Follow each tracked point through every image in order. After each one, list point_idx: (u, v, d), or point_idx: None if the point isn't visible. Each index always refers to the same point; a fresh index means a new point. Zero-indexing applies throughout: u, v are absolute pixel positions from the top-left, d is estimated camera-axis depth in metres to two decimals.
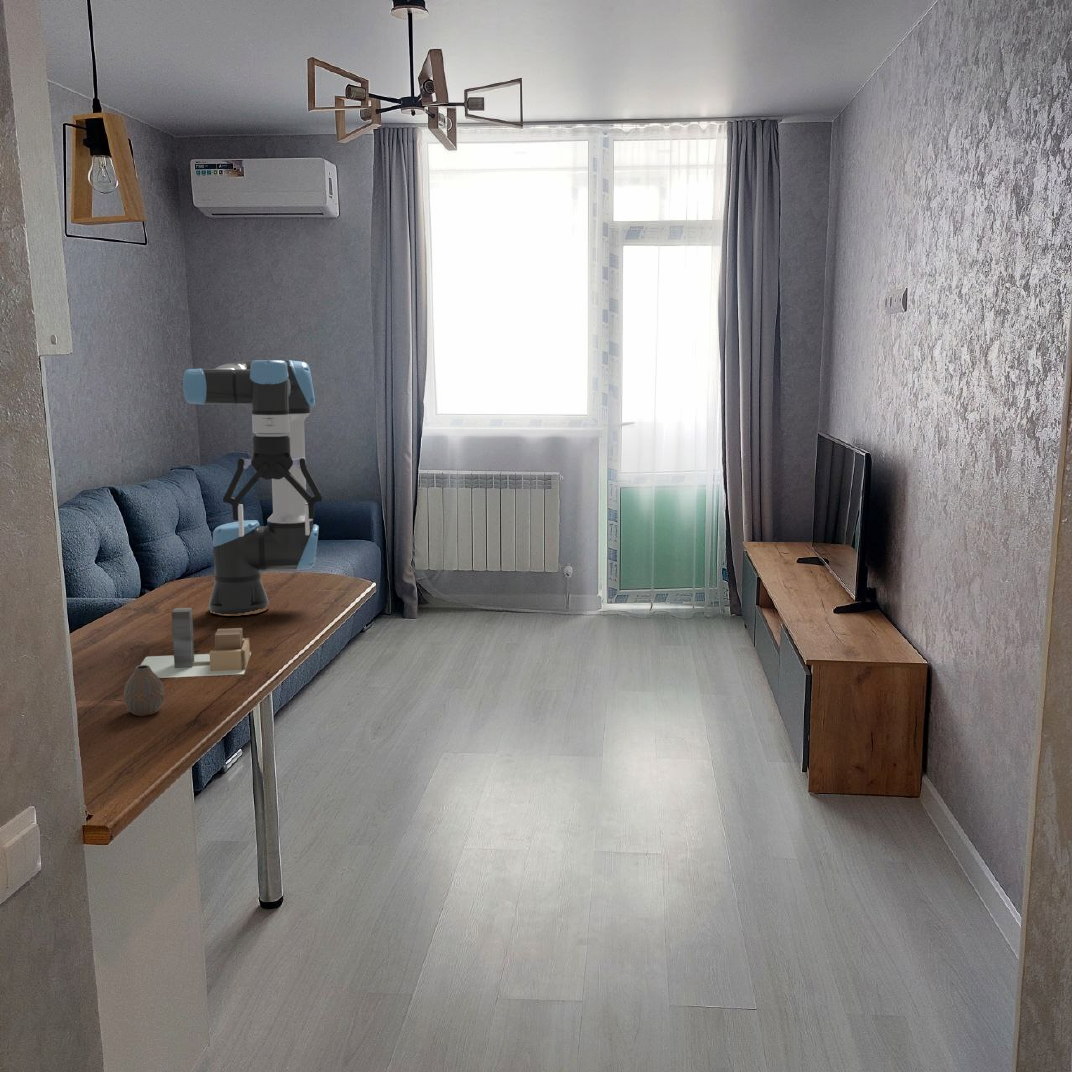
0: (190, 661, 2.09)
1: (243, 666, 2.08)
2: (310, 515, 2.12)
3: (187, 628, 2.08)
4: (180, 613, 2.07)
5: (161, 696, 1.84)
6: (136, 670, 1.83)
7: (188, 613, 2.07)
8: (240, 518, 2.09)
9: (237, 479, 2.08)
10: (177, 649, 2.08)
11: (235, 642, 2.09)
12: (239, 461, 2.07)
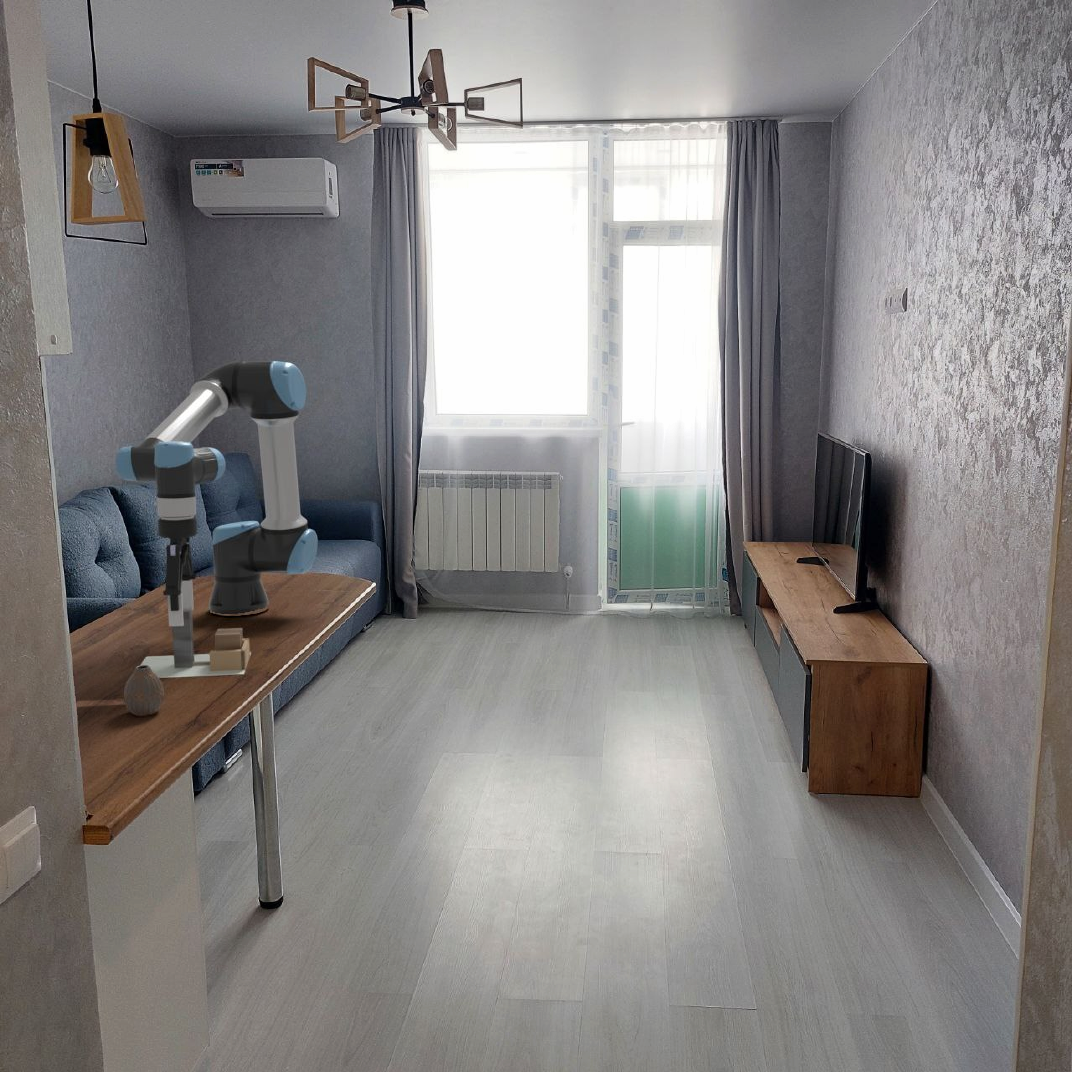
0: (190, 661, 2.09)
1: (243, 666, 2.08)
2: None
3: (187, 628, 2.08)
4: None
5: (161, 696, 1.84)
6: (136, 670, 1.82)
7: (188, 613, 2.07)
8: None
9: None
10: (177, 649, 2.08)
11: (235, 642, 2.09)
12: None
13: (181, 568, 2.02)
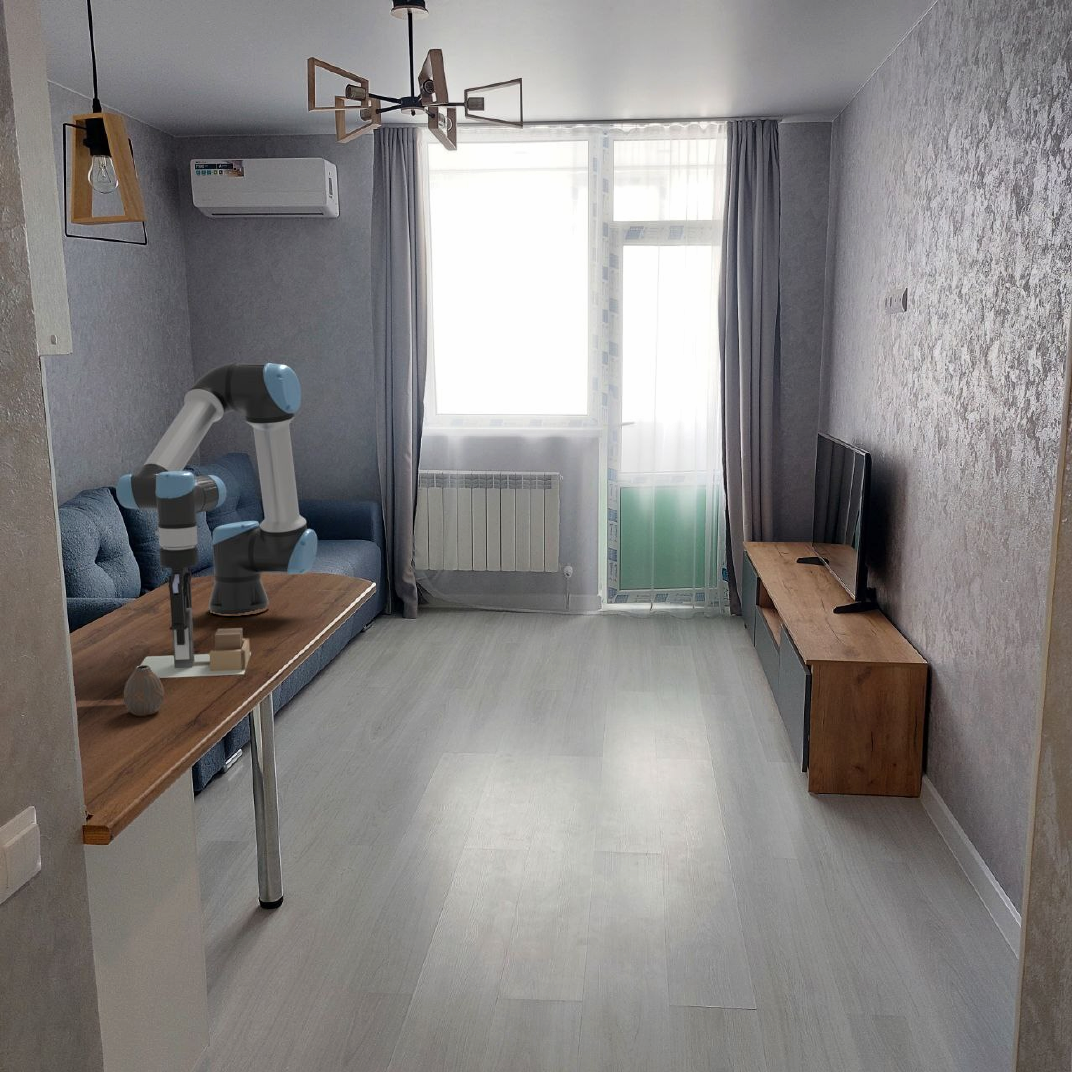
0: (190, 661, 2.09)
1: (243, 666, 2.08)
2: None
3: None
4: None
5: (161, 696, 1.84)
6: (136, 670, 1.82)
7: (188, 613, 2.07)
8: None
9: None
10: None
11: (235, 642, 2.09)
12: None
13: (185, 602, 2.06)
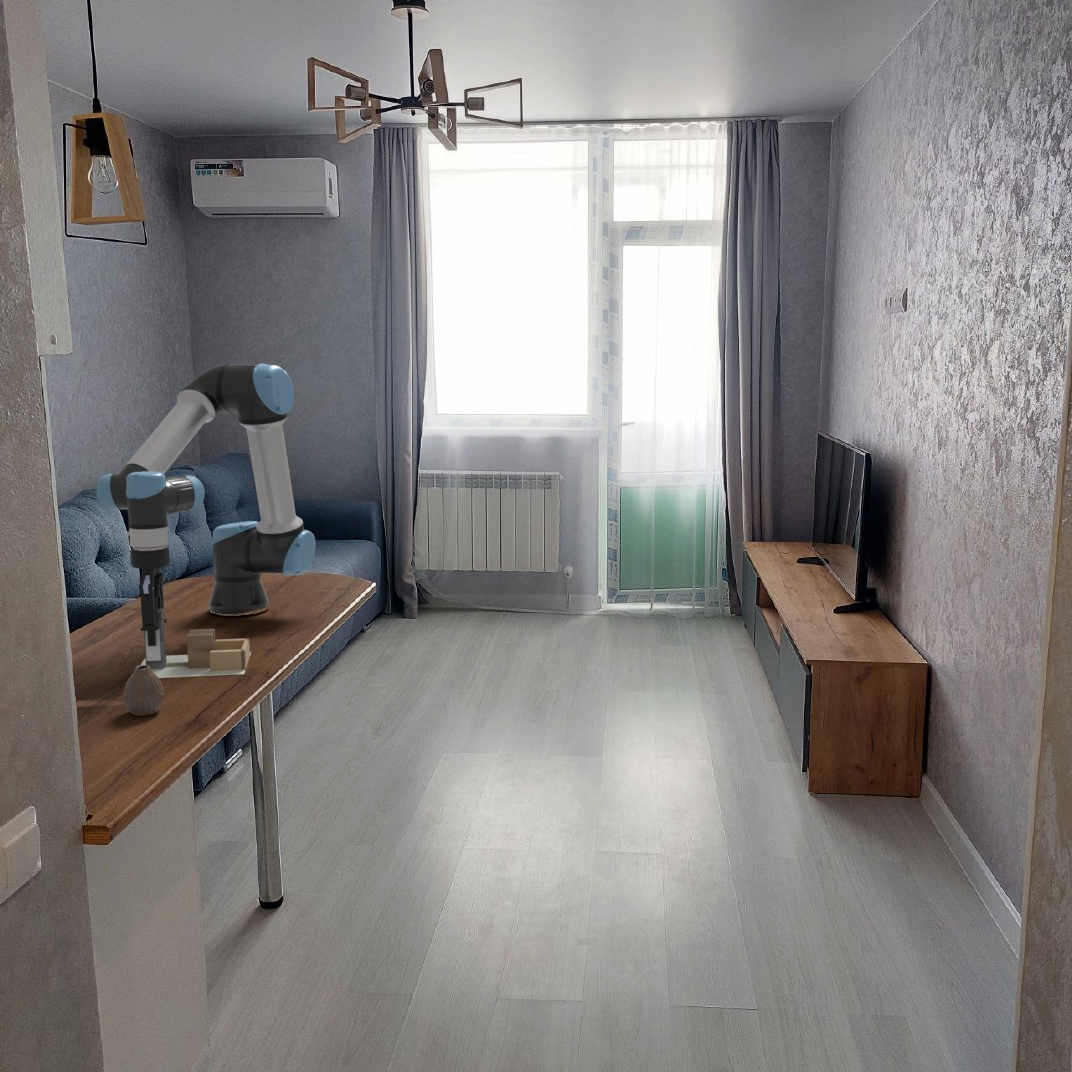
0: (162, 662, 2.08)
1: (243, 666, 2.08)
2: None
3: None
4: None
5: (161, 696, 1.84)
6: (136, 670, 1.82)
7: (159, 614, 2.06)
8: None
9: None
10: None
11: (207, 642, 2.08)
12: None
13: (156, 603, 2.05)
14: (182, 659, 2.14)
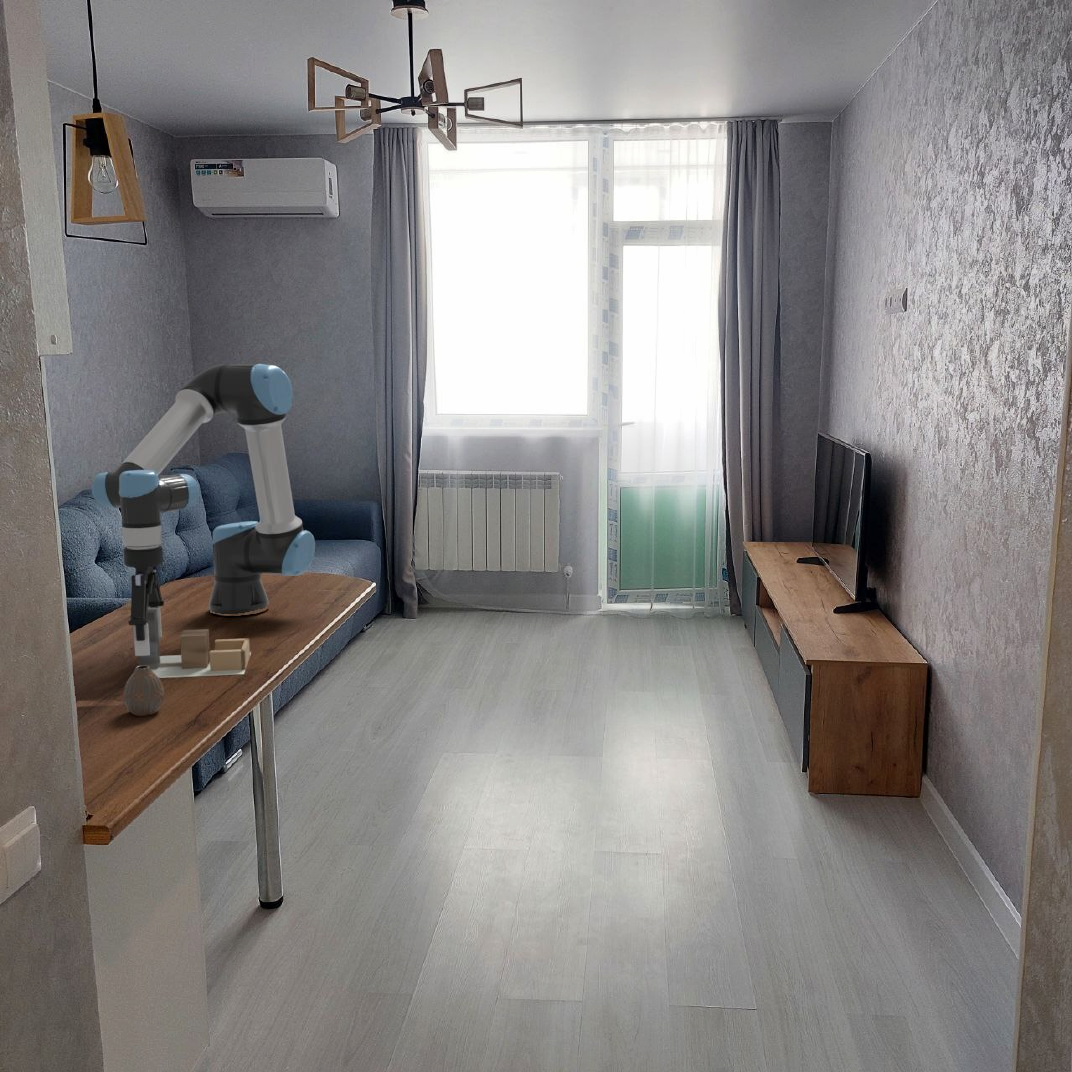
0: (155, 662, 2.08)
1: (243, 666, 2.08)
2: None
3: (152, 630, 2.06)
4: None
5: (161, 696, 1.84)
6: (136, 670, 1.82)
7: (153, 614, 2.06)
8: None
9: None
10: None
11: (200, 643, 2.08)
12: None
13: (147, 597, 2.02)
14: None
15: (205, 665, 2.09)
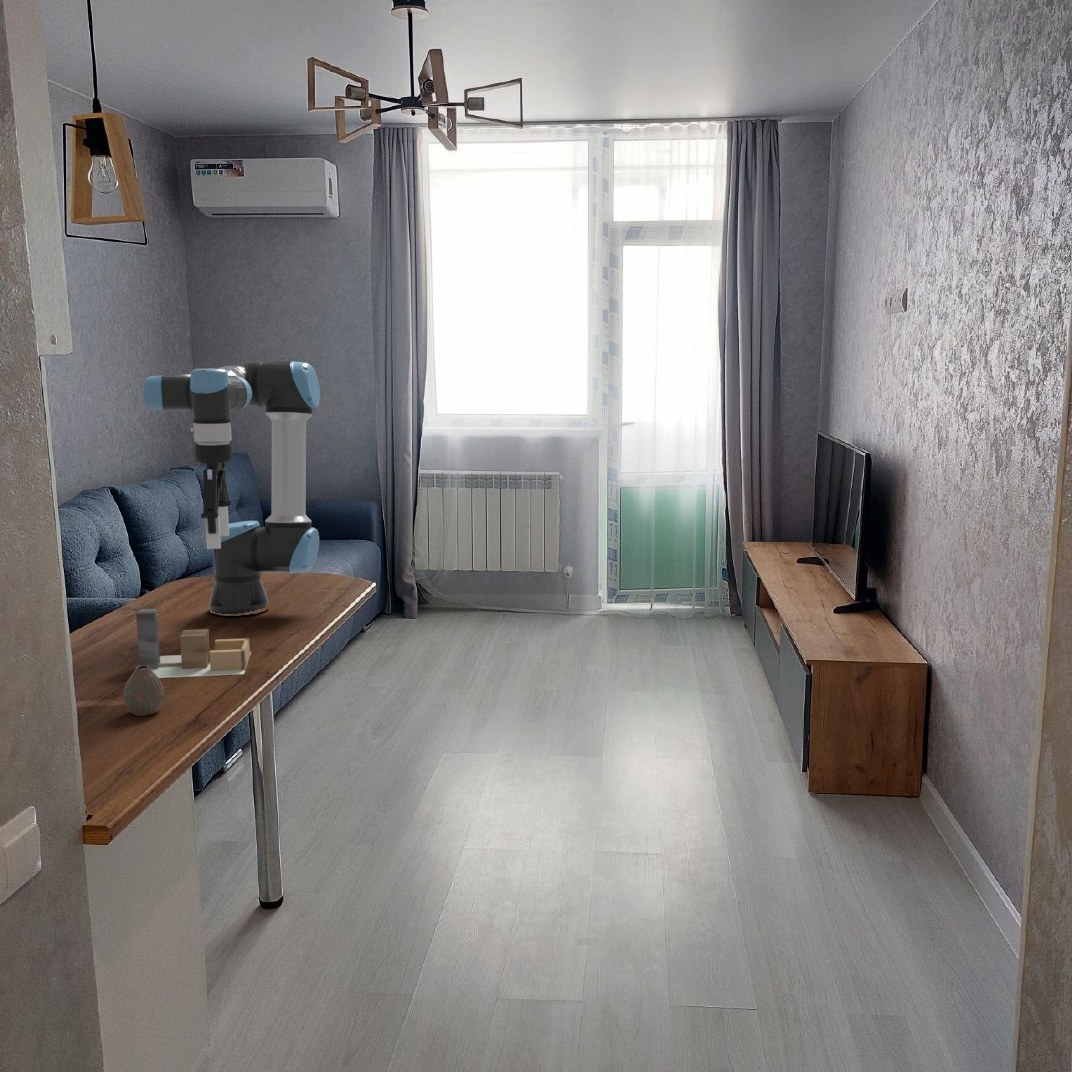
0: (155, 662, 2.08)
1: (243, 666, 2.08)
2: None
3: (152, 630, 2.06)
4: (145, 614, 2.06)
5: (161, 696, 1.84)
6: (136, 670, 1.82)
7: (153, 614, 2.06)
8: None
9: None
10: (142, 650, 2.07)
11: (200, 643, 2.08)
12: None
13: (218, 492, 2.07)
14: None
15: (205, 665, 2.09)
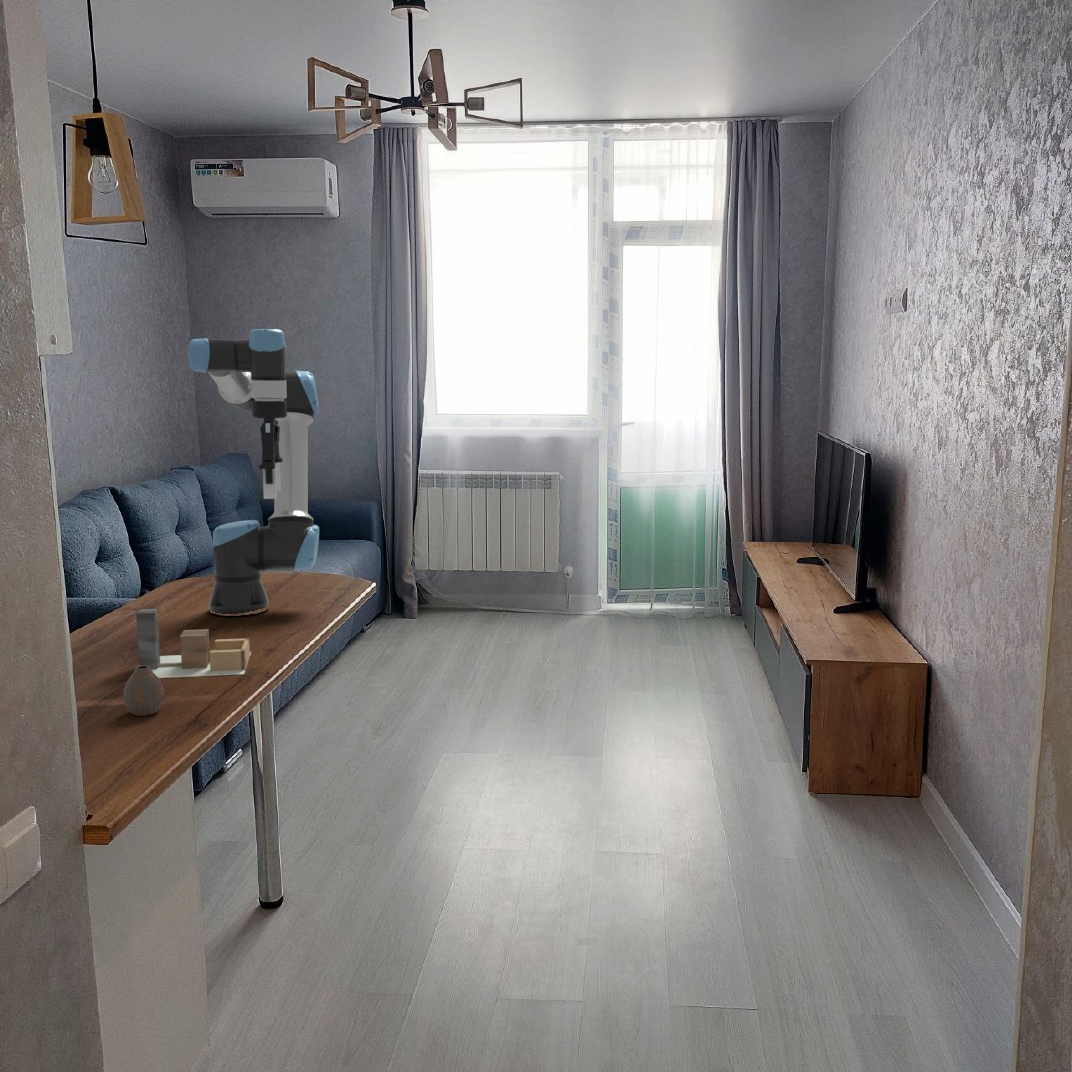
0: (155, 662, 2.08)
1: (243, 666, 2.08)
2: (266, 480, 2.17)
3: (152, 630, 2.06)
4: (145, 614, 2.06)
5: (161, 696, 1.84)
6: (136, 670, 1.82)
7: (153, 614, 2.06)
8: None
9: None
10: (142, 650, 2.07)
11: (200, 643, 2.08)
12: None
13: (274, 445, 2.19)
14: None
15: (205, 665, 2.09)
